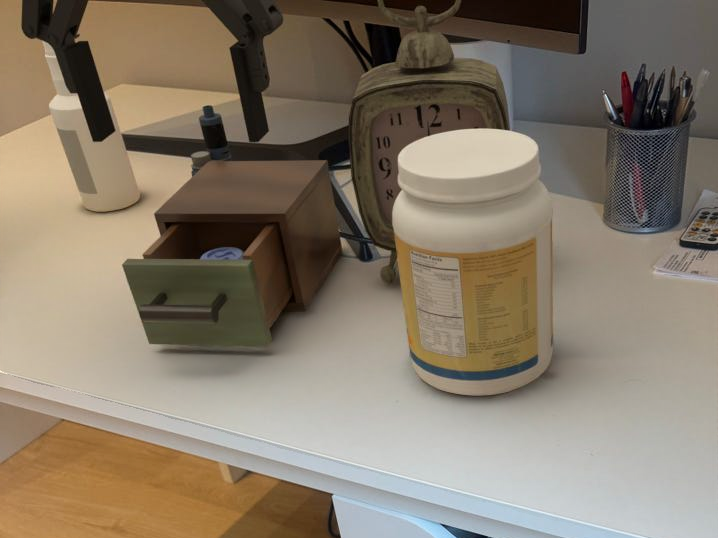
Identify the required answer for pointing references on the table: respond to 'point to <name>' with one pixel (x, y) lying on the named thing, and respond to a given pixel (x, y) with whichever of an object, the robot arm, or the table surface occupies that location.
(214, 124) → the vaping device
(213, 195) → the cabinet
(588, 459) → the table surface
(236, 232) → the drawer
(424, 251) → the supplement tub
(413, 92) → the tabletop clock
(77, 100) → the spray bottle
